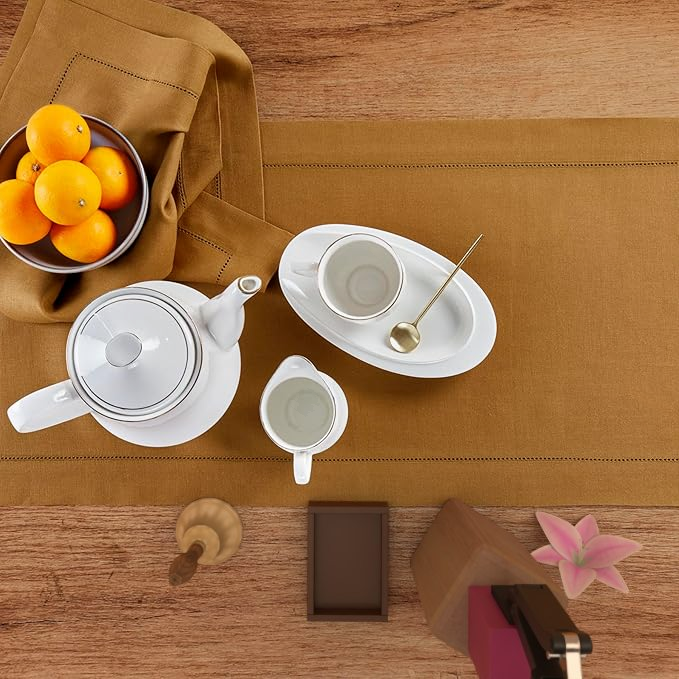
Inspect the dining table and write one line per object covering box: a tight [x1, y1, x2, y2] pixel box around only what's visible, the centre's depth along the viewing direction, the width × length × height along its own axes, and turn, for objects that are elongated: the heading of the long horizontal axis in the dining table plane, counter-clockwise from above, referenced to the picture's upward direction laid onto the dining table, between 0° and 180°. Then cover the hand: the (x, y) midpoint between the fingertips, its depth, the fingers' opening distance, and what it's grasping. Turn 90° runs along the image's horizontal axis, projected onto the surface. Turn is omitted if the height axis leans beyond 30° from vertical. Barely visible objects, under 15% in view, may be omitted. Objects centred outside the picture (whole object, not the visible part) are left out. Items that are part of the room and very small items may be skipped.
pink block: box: [468, 586, 531, 679], centre depth 55 cm, size 6×6×9 cm
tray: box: [306, 500, 390, 623], centre depth 78 cm, size 14×10×3 cm
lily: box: [529, 510, 644, 600], centre depth 76 cm, size 12×12×10 cm
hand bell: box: [168, 497, 244, 587], centre depth 72 cm, size 8×8×16 cm
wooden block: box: [409, 497, 570, 661], centre depth 70 cm, size 10×10×20 cm
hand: (506, 627), depth 58 cm, fingers closed on pink block, 6 cm apart
